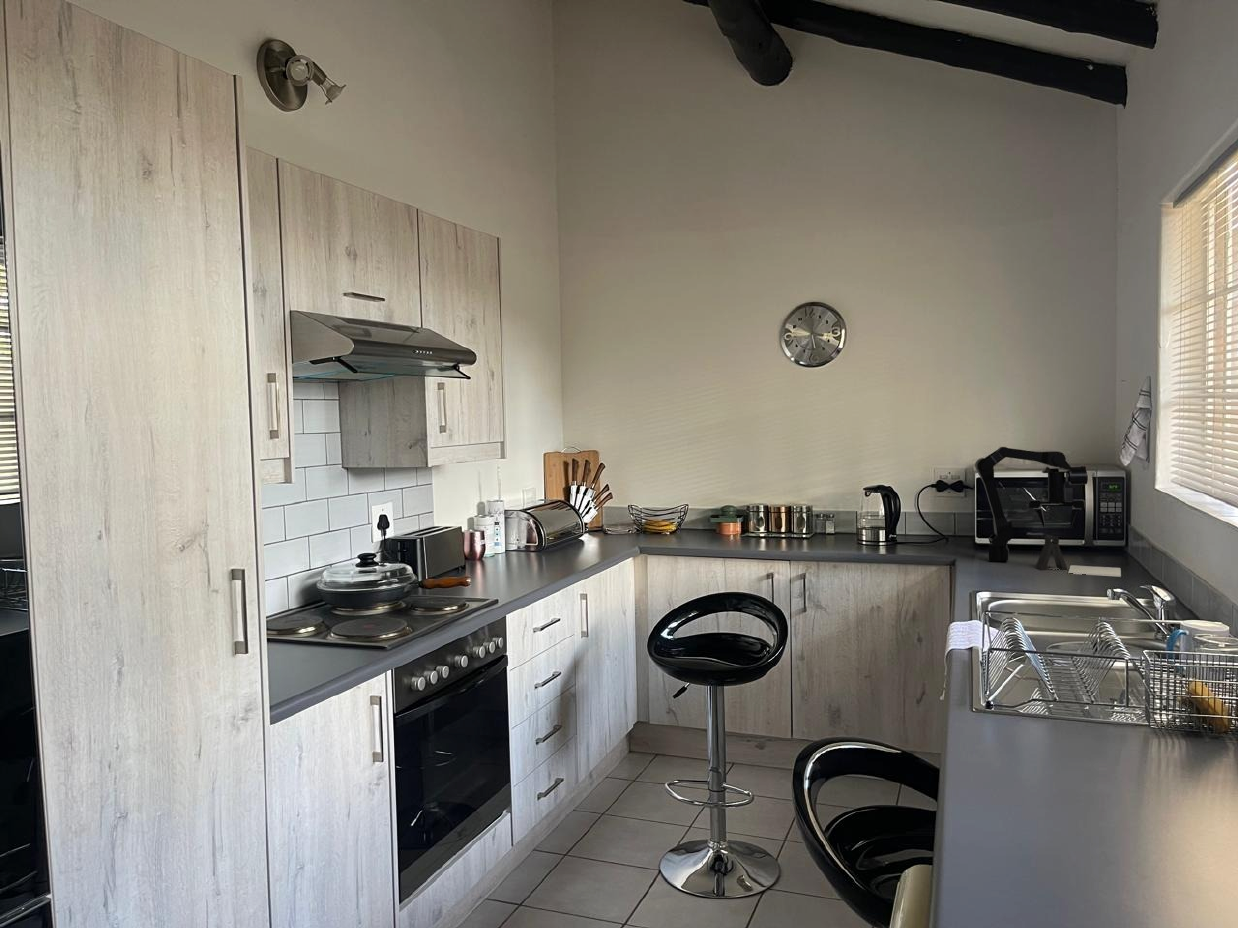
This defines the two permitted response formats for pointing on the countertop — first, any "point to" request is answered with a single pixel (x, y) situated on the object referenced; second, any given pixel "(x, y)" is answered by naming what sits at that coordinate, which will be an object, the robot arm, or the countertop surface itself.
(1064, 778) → the countertop surface
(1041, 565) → the phone stand
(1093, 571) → the mat
